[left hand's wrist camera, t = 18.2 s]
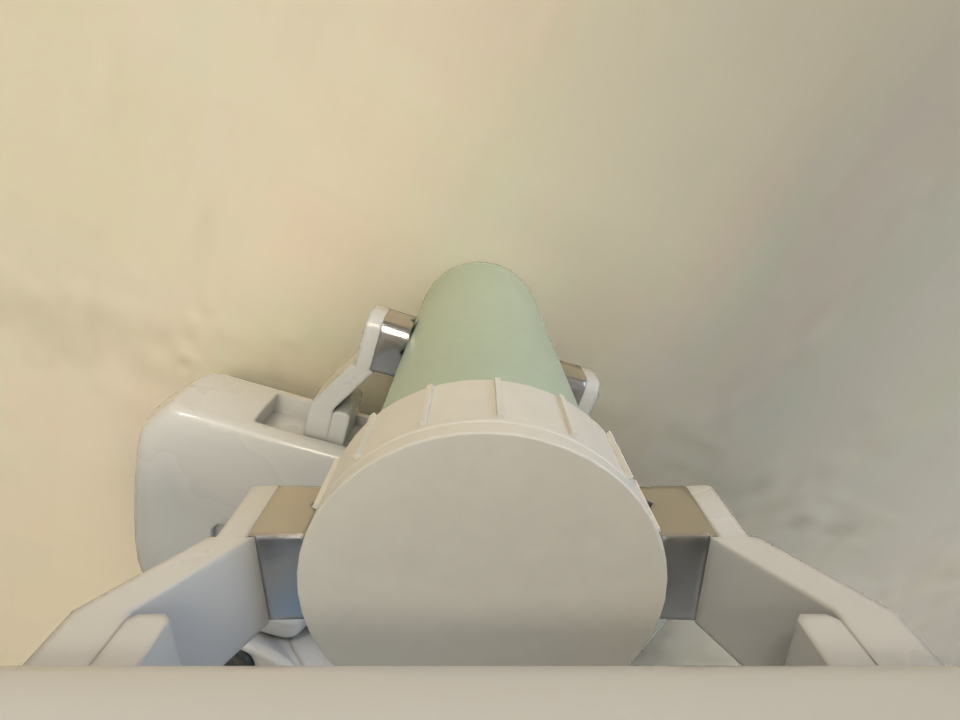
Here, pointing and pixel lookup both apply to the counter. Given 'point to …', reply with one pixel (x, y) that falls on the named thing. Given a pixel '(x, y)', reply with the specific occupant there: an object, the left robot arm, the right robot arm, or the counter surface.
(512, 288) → the jar
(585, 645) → the lid
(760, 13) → the counter surface
